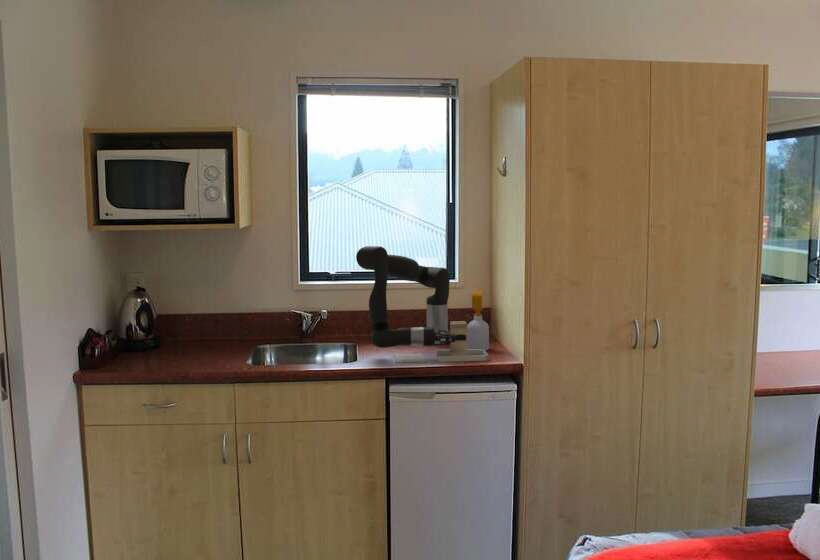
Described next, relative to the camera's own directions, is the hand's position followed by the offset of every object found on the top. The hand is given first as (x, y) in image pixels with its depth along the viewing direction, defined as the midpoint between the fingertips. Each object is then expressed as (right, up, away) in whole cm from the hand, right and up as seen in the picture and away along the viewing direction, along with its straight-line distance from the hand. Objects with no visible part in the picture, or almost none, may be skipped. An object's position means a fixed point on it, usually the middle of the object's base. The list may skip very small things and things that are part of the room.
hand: (464, 336), depth 254 cm
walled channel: (-1, -9, +1) cm, 9 cm away
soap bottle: (+7, -7, +15) cm, 18 cm away
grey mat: (-22, -9, 0) cm, 24 cm away
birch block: (-3, -8, +1) cm, 8 cm away
